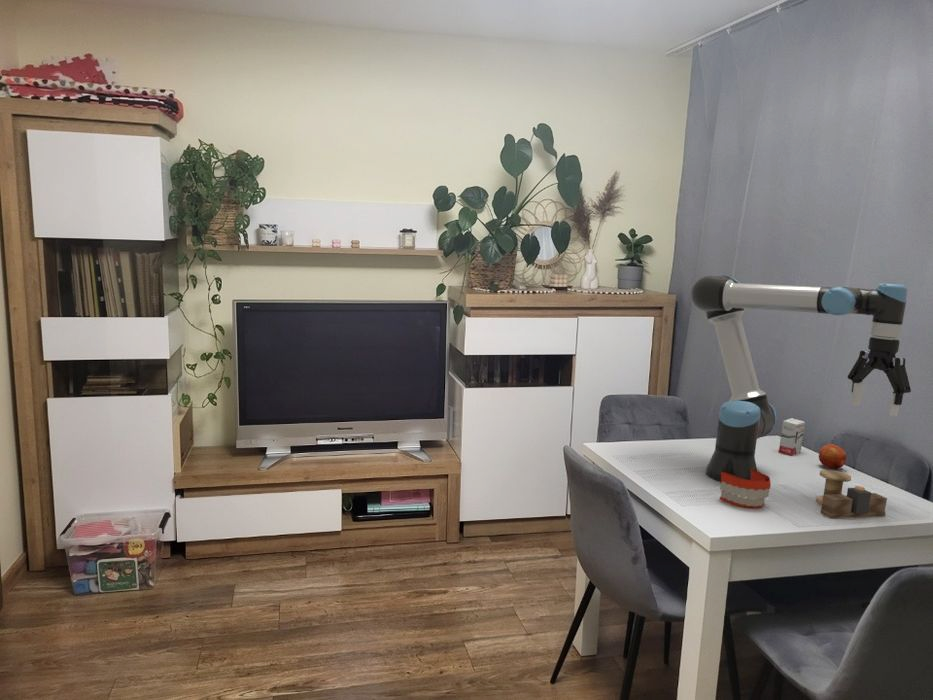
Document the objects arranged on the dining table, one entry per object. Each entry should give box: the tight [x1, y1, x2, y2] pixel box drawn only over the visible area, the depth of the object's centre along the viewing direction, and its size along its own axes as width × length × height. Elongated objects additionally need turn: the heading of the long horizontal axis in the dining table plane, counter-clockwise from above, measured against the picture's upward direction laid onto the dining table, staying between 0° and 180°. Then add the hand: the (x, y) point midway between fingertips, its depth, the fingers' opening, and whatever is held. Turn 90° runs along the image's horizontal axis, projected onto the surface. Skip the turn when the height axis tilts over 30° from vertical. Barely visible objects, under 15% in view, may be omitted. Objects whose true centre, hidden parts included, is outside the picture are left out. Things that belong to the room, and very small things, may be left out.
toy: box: [719, 469, 771, 509], centre depth 199 cm, size 12×10×8 cm
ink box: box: [778, 417, 806, 457], centre depth 256 cm, size 8×5×12 cm, turn 134°
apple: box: [818, 443, 847, 470], centre depth 240 cm, size 8×8×8 cm
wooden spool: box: [815, 469, 852, 506], centre depth 203 cm, size 8×8×9 cm
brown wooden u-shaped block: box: [819, 492, 888, 519], centre depth 196 cm, size 18×4×5 cm, turn 105°
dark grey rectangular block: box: [846, 485, 872, 514], centre depth 195 cm, size 4×4×7 cm
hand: (873, 409), depth 207 cm, fingers open, 13 cm apart
